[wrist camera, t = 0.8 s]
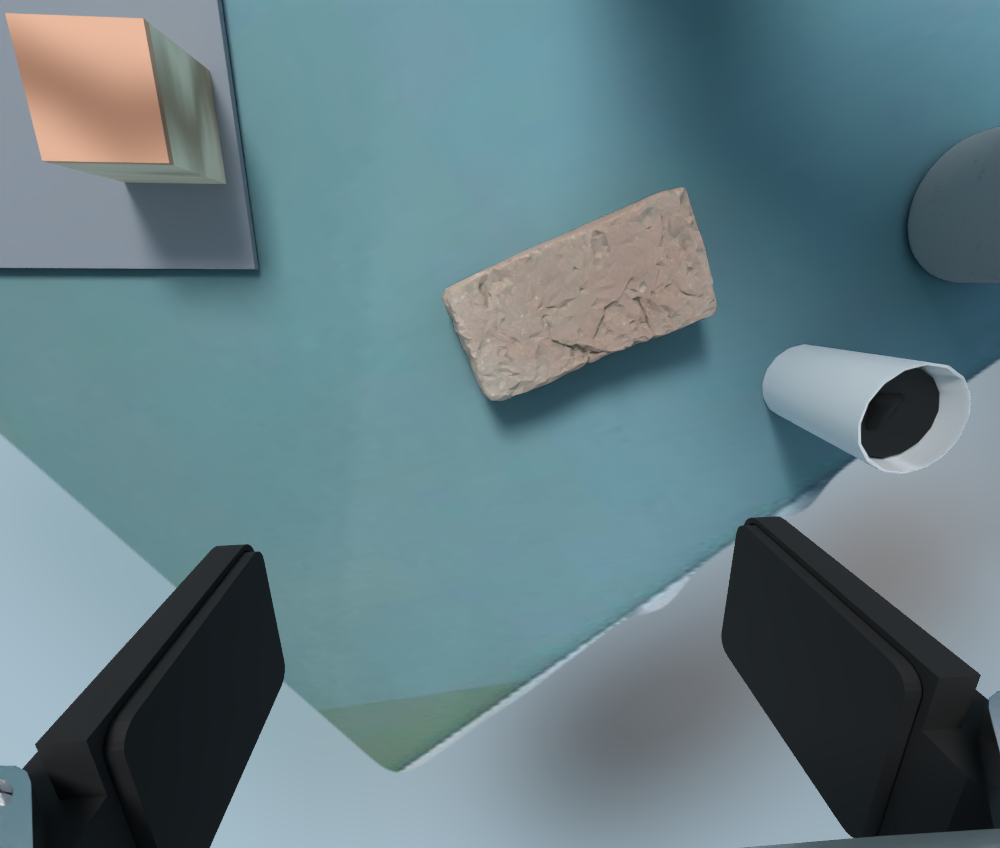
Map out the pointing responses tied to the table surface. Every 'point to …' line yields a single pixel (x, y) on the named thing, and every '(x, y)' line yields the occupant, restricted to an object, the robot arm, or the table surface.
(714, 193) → the table surface
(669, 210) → the brick
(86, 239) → the mat
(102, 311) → the table surface
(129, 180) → the cube
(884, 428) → the white cup
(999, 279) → the water bottle
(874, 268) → the table surface
